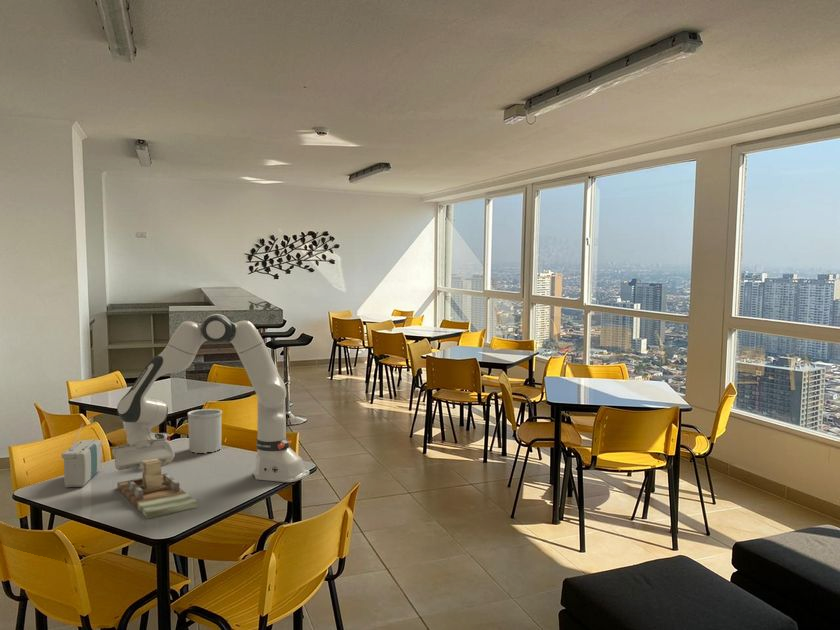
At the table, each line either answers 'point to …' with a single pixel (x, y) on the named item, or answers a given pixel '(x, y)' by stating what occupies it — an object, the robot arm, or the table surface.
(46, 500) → the table surface
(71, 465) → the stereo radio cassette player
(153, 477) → the wood block
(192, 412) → the utensil holder
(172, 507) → the track
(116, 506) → the table surface
